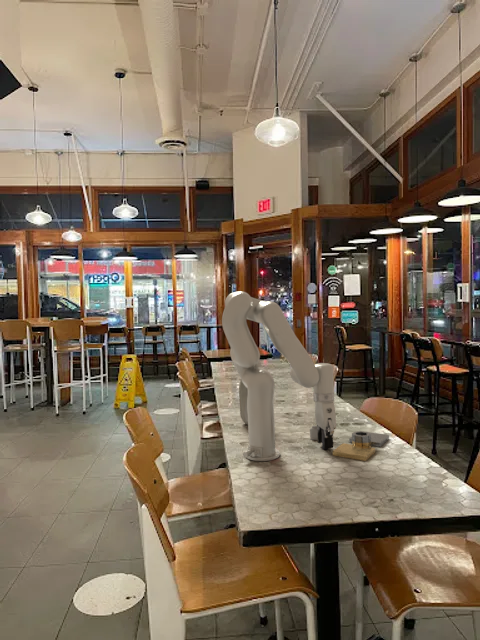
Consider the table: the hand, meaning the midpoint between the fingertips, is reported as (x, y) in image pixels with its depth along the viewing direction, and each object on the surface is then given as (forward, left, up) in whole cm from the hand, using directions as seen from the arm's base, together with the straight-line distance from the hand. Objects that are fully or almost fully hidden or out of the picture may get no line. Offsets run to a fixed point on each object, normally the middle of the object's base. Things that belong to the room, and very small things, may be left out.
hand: (325, 444), depth 165 cm
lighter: (+10, +7, -2) cm, 12 cm away
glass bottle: (+16, +43, -2) cm, 46 cm away
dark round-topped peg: (0, 0, -2) cm, 2 cm away
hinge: (+8, -11, -2) cm, 14 cm away
